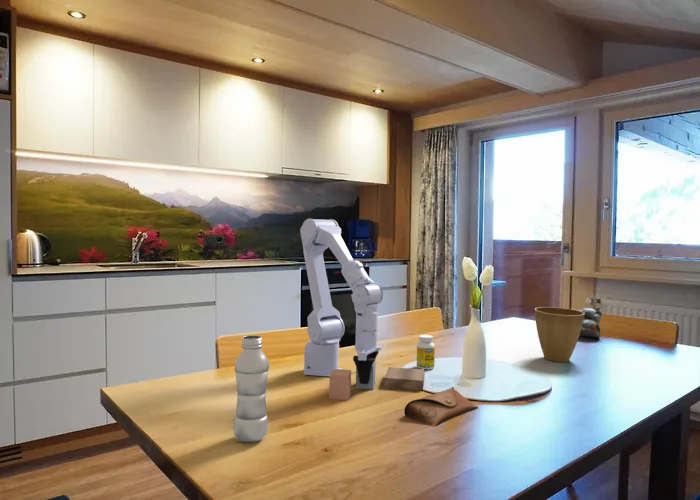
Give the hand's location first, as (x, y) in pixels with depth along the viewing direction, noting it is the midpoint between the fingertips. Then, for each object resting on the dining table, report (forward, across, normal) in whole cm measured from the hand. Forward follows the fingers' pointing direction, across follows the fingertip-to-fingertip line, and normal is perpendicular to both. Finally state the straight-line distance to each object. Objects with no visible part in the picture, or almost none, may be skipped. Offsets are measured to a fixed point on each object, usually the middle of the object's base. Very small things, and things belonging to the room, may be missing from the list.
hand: (365, 380), depth 127 cm
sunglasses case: (+2, -14, -20) cm, 24 cm away
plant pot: (+2, +41, -57) cm, 70 cm away
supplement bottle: (+2, +21, -15) cm, 26 cm away
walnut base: (+2, +5, -10) cm, 11 cm away
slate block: (+1, 0, 0) cm, 1 cm away
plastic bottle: (+2, -37, +17) cm, 41 cm away
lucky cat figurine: (+2, +80, -75) cm, 110 cm away
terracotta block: (+2, -9, +5) cm, 10 cm away
